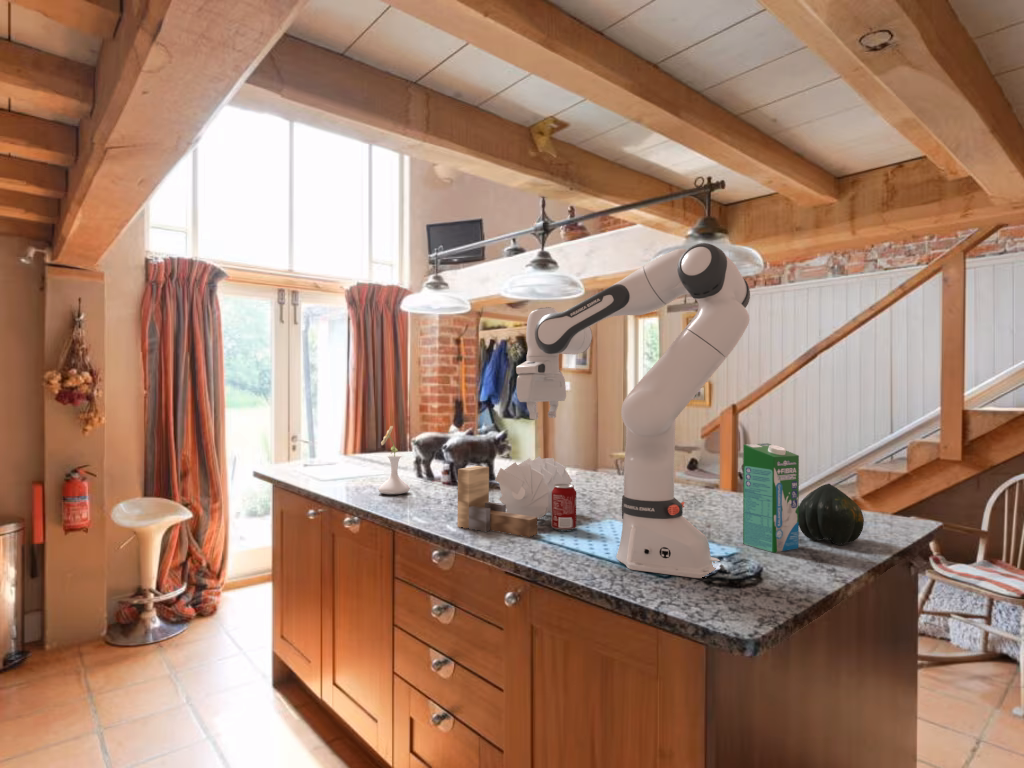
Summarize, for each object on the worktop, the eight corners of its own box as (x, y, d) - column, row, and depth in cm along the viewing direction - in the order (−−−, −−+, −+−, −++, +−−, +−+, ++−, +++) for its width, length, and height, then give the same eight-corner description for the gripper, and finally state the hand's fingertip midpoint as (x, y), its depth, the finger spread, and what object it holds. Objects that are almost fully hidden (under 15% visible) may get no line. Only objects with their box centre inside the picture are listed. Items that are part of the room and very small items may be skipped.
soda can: (574, 532, 157) (575, 487, 157) (549, 531, 158) (550, 486, 158) (577, 526, 163) (577, 483, 163) (553, 525, 165) (553, 482, 165)
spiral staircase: (561, 523, 186) (531, 536, 163) (516, 494, 193) (481, 504, 170) (586, 472, 183) (559, 479, 161) (540, 445, 190) (507, 448, 168)
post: (505, 525, 164) (506, 468, 164) (486, 532, 157) (486, 472, 157) (477, 520, 170) (478, 465, 170) (457, 526, 162) (457, 469, 162)
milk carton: (773, 553, 138) (774, 447, 138) (742, 544, 146) (743, 443, 146) (798, 548, 142) (799, 445, 143) (767, 539, 150) (767, 442, 151)
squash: (829, 529, 139) (855, 479, 144) (777, 519, 153) (802, 473, 158) (859, 564, 144) (883, 514, 148) (806, 551, 157) (829, 506, 162)
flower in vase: (384, 490, 219) (385, 423, 219) (414, 491, 217) (414, 424, 217) (371, 497, 206) (372, 426, 206) (402, 498, 204) (403, 426, 205)
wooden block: (480, 528, 161) (480, 508, 161) (489, 525, 164) (489, 505, 164) (529, 537, 152) (529, 515, 152) (537, 534, 155) (537, 513, 155)
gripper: (552, 369, 170) (552, 416, 170) (512, 367, 153) (512, 419, 153) (571, 368, 167) (571, 417, 167) (532, 366, 150) (533, 420, 150)
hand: (543, 418), depth 160 cm, fingers open, 8 cm apart
